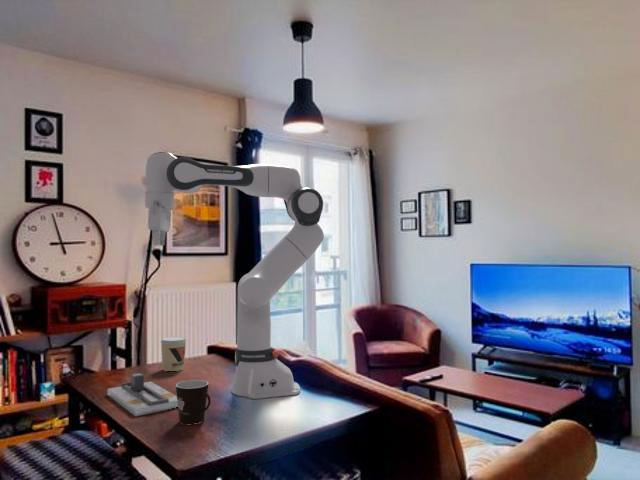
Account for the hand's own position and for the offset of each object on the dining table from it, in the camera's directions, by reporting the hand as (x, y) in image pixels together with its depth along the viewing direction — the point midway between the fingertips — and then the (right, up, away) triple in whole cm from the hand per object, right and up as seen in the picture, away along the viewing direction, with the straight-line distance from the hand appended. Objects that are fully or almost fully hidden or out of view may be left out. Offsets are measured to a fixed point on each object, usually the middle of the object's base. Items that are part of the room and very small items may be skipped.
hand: (158, 245), depth 158 cm
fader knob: (-6, -46, -2) cm, 46 cm away
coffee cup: (-5, -49, +33) cm, 59 cm away
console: (-2, -48, -7) cm, 48 cm away
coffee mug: (+18, -48, -27) cm, 57 cm away
